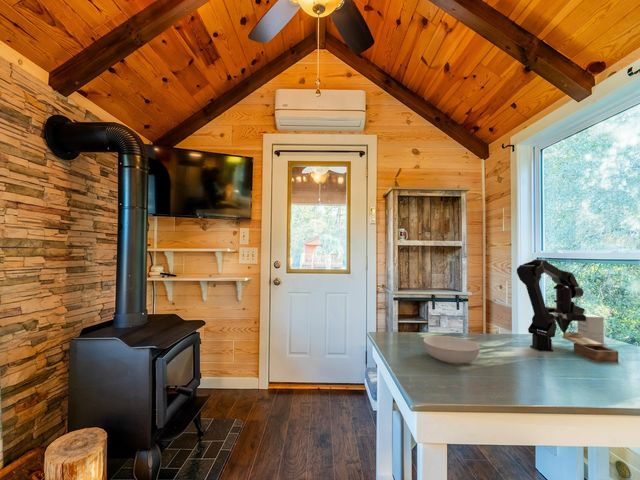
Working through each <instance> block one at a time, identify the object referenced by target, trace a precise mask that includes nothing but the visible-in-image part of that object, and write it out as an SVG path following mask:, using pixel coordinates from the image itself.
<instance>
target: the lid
mask: <svg viewBox="0 0 640 480" xmlns="http://www.w3.org/2000/svg"><path fill="white" fill-rule="evenodd" d="M562 333H563V335H562V337H561V338H562V340H563V339H564V340H566V341H569V342H572V343H573V344H574V343H577V344H580V345H589V346H604V347H605V345H604V344H605V343H599V342H596V341H593V340H590V339H587V338H584V337H583V333H578V332H565V333H564V332H562Z"/></svg>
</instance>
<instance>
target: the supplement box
mask: <svg viewBox="0 0 640 480" xmlns="http://www.w3.org/2000/svg"><path fill="white" fill-rule="evenodd" d="M583 314H584V315H585V316H586V321H576V323H577V333H583V337H584V338H587V339H590V340H593V341H596V342H599V343H602V344H605V343H604V342H605V341H604V340H605V339H604V338H605V337H604V335H605V332H604V330H605V329H604V317H603V316H601V315H597V314H591V313H589V314H587V313H583Z"/></svg>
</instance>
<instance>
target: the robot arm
mask: <svg viewBox="0 0 640 480" xmlns="http://www.w3.org/2000/svg"><path fill="white" fill-rule="evenodd" d="M516 273H517V276H518V278H519V280H520V281H521V282H522V284H524V285H525V288H526V291H527V294H528V297H529V300H530V304H531V306H532V310H533V316H532V318H531V323H530V324H529V327H528V328H527V331H528V334H530V335H532V336H531V338H532V340H531V341H532V342H531V343H532V344H531V345H529V347H530V348H532V349H534V350H537V351H539V352H554V351H555V350H554V349H553V347H552V346H553V344H552V343H553V342H552V338H554V337H556V332H557V325H558V327H559V329H560V331H561V332H562V333H567V330H568V328H569V326H570V324H571V323H572V322H577V321H586V316H585V315H584V314H585V313H584V312H585V308H583V307H580V306H578V305H576V303H575V301H572V299H579V298H582V297H583V295H584V290H583V288H582V287H580V286H579V283H578V281H577V278H576V277H575V275H574V274H573V272H571V271H566V270H562V269H560V268H558V267H557V266H555V265H553V264H552V263H550V262H548V261H547V260H546V259H543V258H542V259H539V258H536V259H533V260H531V261H528V262H525V263H523V264H520V265H519V266H518V267H517V268H516ZM543 274H546V275H548V276H549V277H550V278H551V280H552V282H554V284H555V286H554V287H553V289H554V290H555V296H556V297H555V299H554V300H553V303H555V306H553V307H552V306H551V307H550V306H546V303H545V300H544V297H543V293H542V290H541V286H540V281H541V279H542V275H543Z"/></svg>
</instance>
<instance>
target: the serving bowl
mask: <svg viewBox="0 0 640 480" xmlns="http://www.w3.org/2000/svg"><path fill="white" fill-rule="evenodd" d="M422 342H423V347H424V349H425V351H426V352H427V353H428V354H429V356H431V357H433V358H434V359H436V360H439V361H441V362H445V363H449V364H465V363H469V362H470V363H471V362H472V361H474V360H475V359H476V358H477V357H478V356H479V353H480V352H481V351H480V349H481V346H480V344H478V343H477V342H474V341H472V340H469V339H465V338H461V337H455V336H449V335H430V336H429V335H428V336H426V337H424V338H423V341H422Z"/></svg>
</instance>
